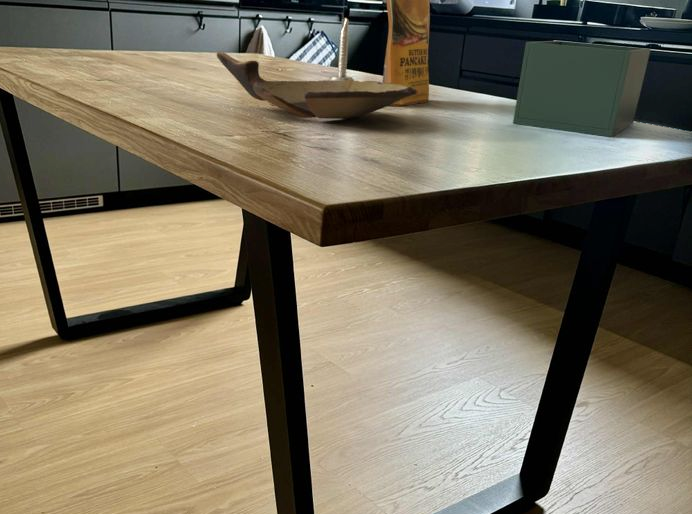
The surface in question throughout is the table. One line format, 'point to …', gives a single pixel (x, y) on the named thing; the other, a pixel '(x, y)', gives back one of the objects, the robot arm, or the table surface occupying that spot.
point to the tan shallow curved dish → (316, 92)
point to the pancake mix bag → (408, 48)
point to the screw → (343, 54)
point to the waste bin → (580, 86)
